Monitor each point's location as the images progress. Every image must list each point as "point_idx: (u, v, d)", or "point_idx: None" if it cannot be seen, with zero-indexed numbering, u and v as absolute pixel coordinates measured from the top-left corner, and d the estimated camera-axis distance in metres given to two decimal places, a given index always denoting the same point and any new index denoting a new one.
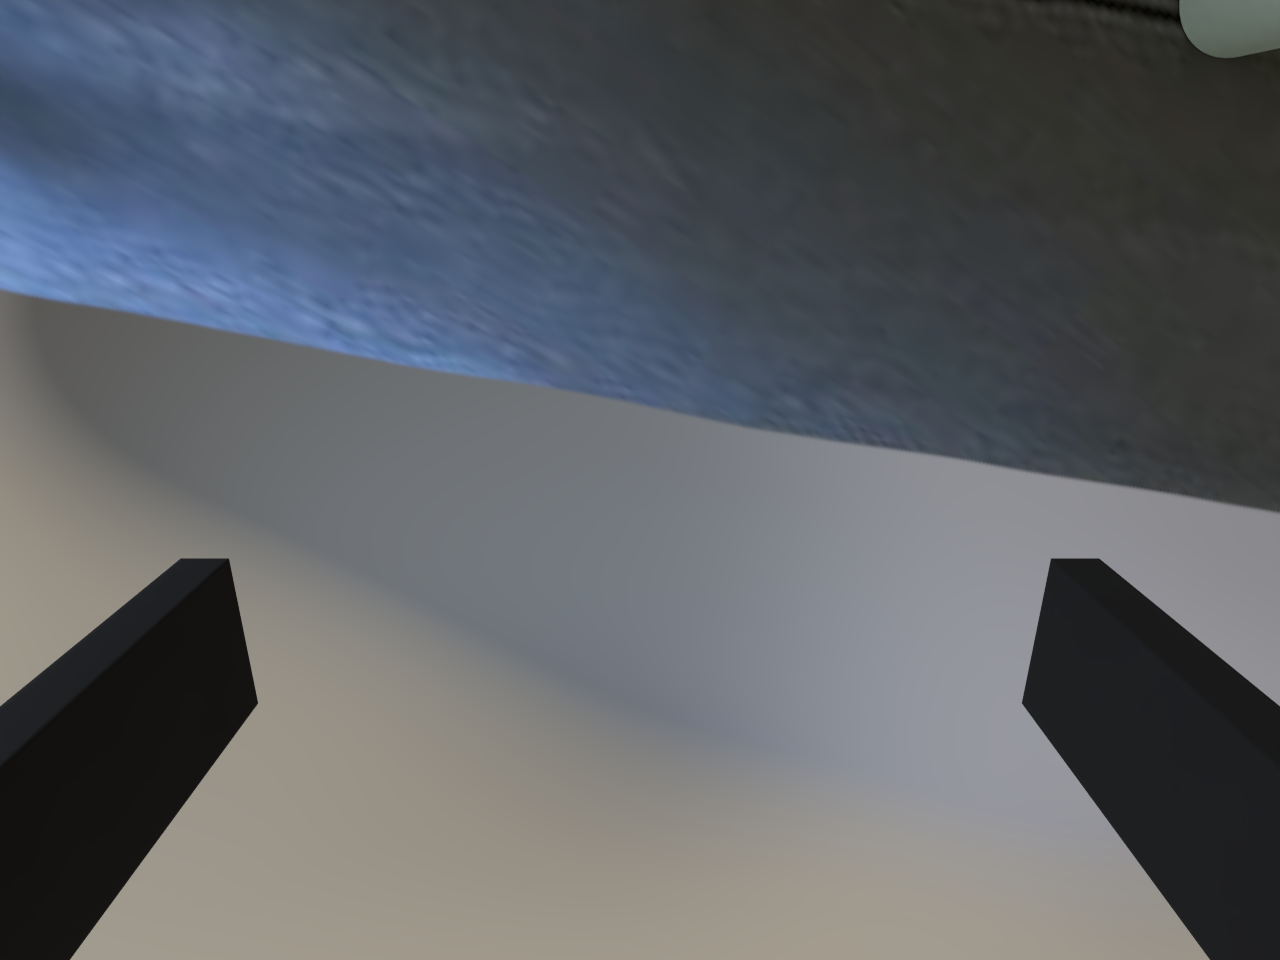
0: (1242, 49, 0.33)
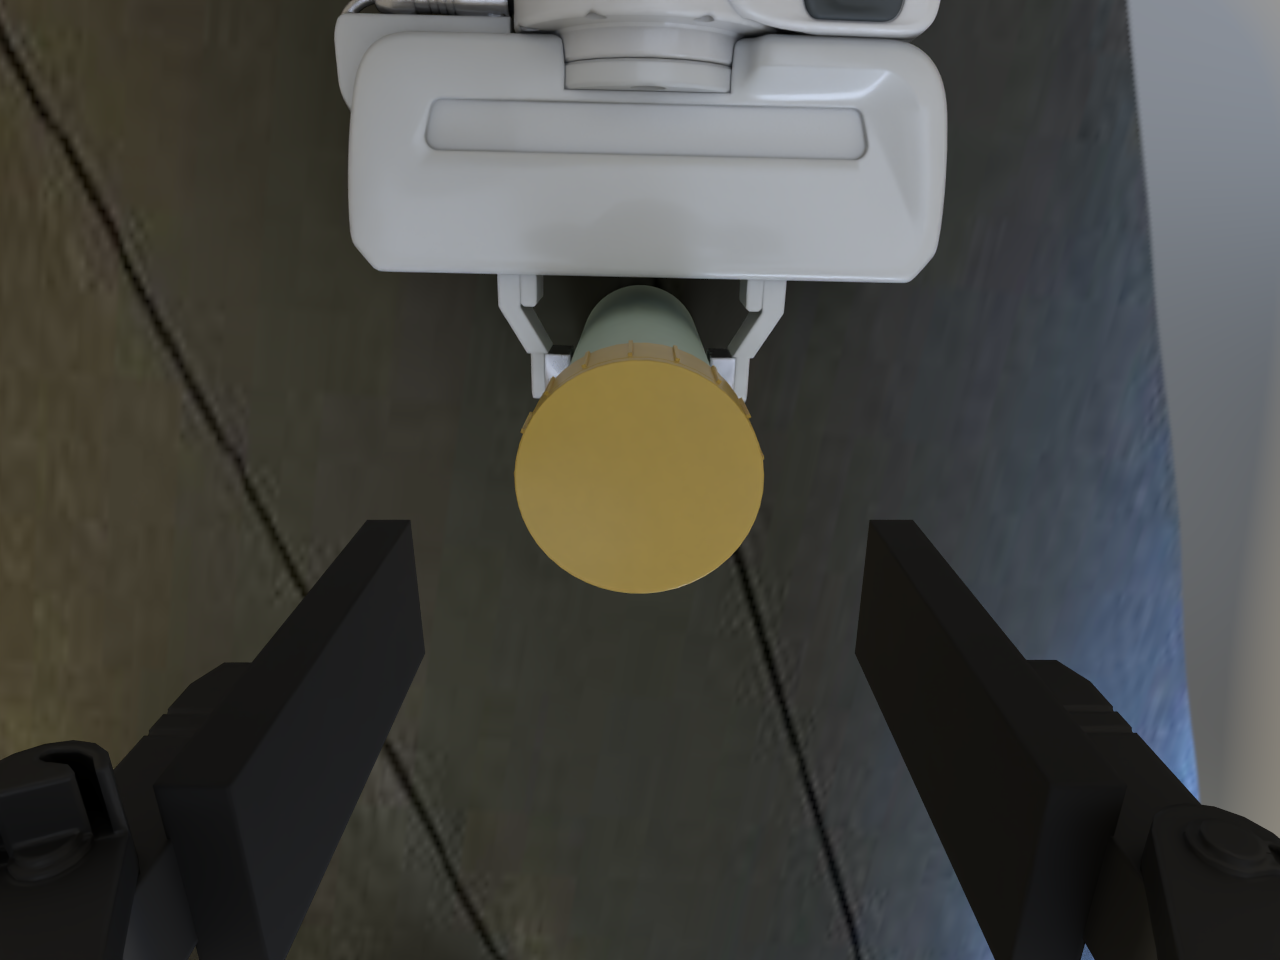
0: None
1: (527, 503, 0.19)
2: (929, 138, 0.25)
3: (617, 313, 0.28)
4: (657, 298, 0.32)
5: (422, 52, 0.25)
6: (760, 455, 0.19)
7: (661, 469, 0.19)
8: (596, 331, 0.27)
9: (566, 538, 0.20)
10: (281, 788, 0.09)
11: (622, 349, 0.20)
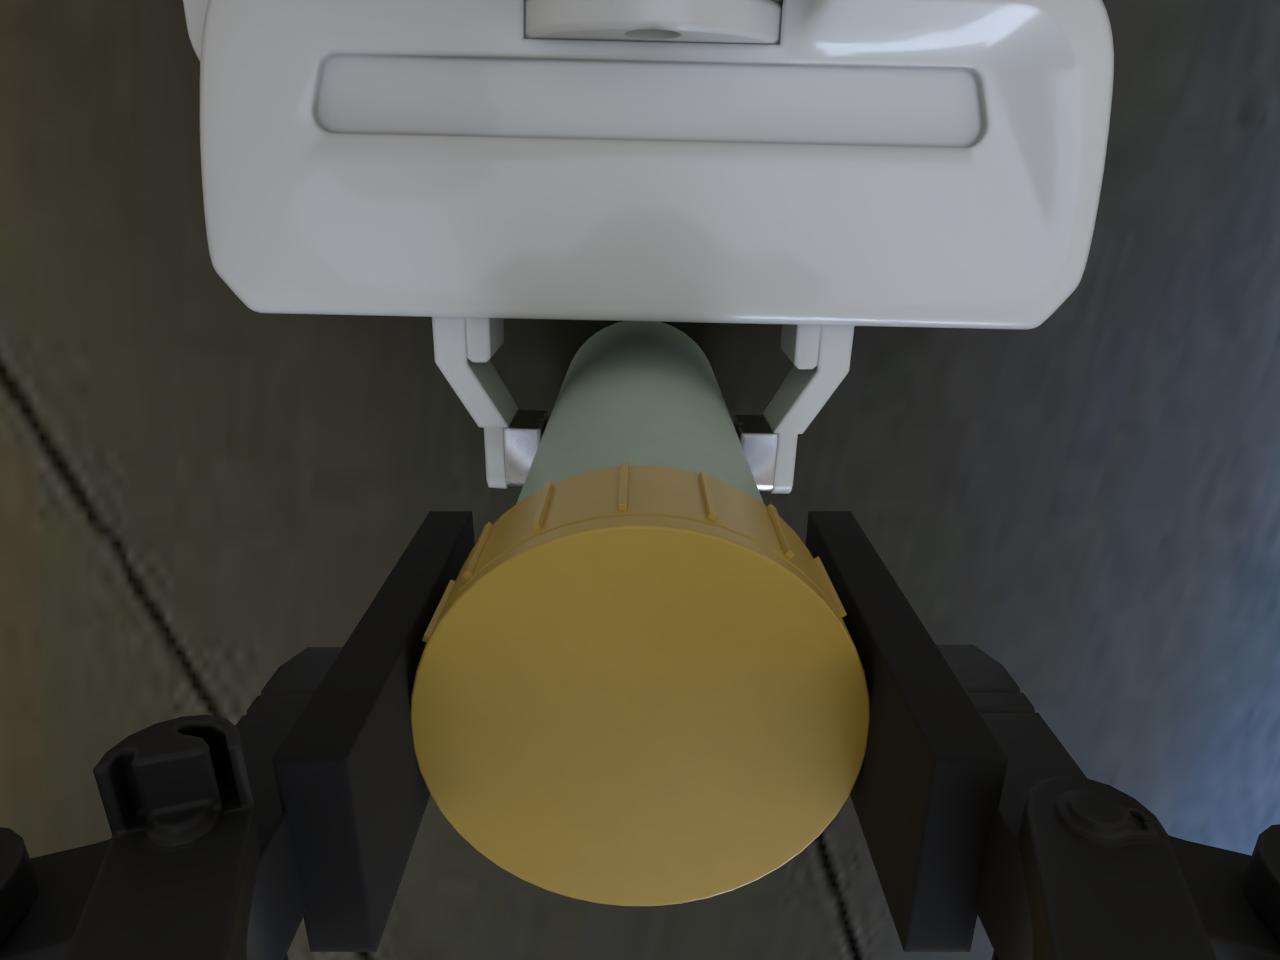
0: None
1: (436, 768, 0.11)
2: (1085, 114, 0.16)
3: (607, 372, 0.19)
4: (664, 342, 0.23)
5: None
6: (865, 689, 0.10)
7: (681, 713, 0.10)
8: (575, 404, 0.18)
9: (509, 823, 0.11)
10: (381, 765, 0.09)
11: (609, 486, 0.11)
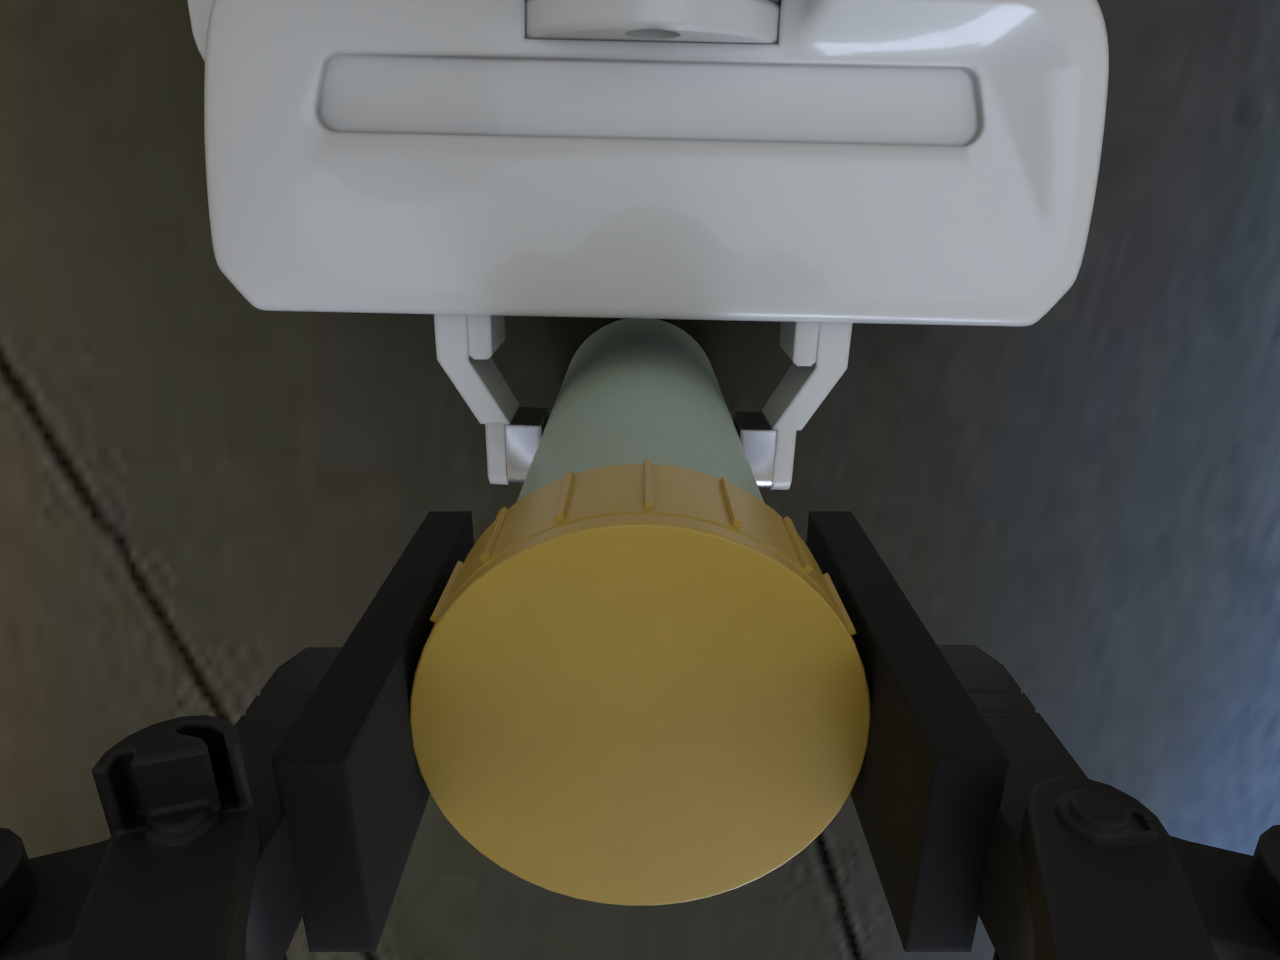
0: None
1: (772, 856, 0.11)
2: (1080, 113, 0.17)
3: (608, 369, 0.20)
4: (664, 340, 0.23)
5: None
6: (466, 592, 0.10)
7: (594, 717, 0.10)
8: (576, 401, 0.18)
9: (802, 784, 0.11)
10: (381, 764, 0.09)
11: None
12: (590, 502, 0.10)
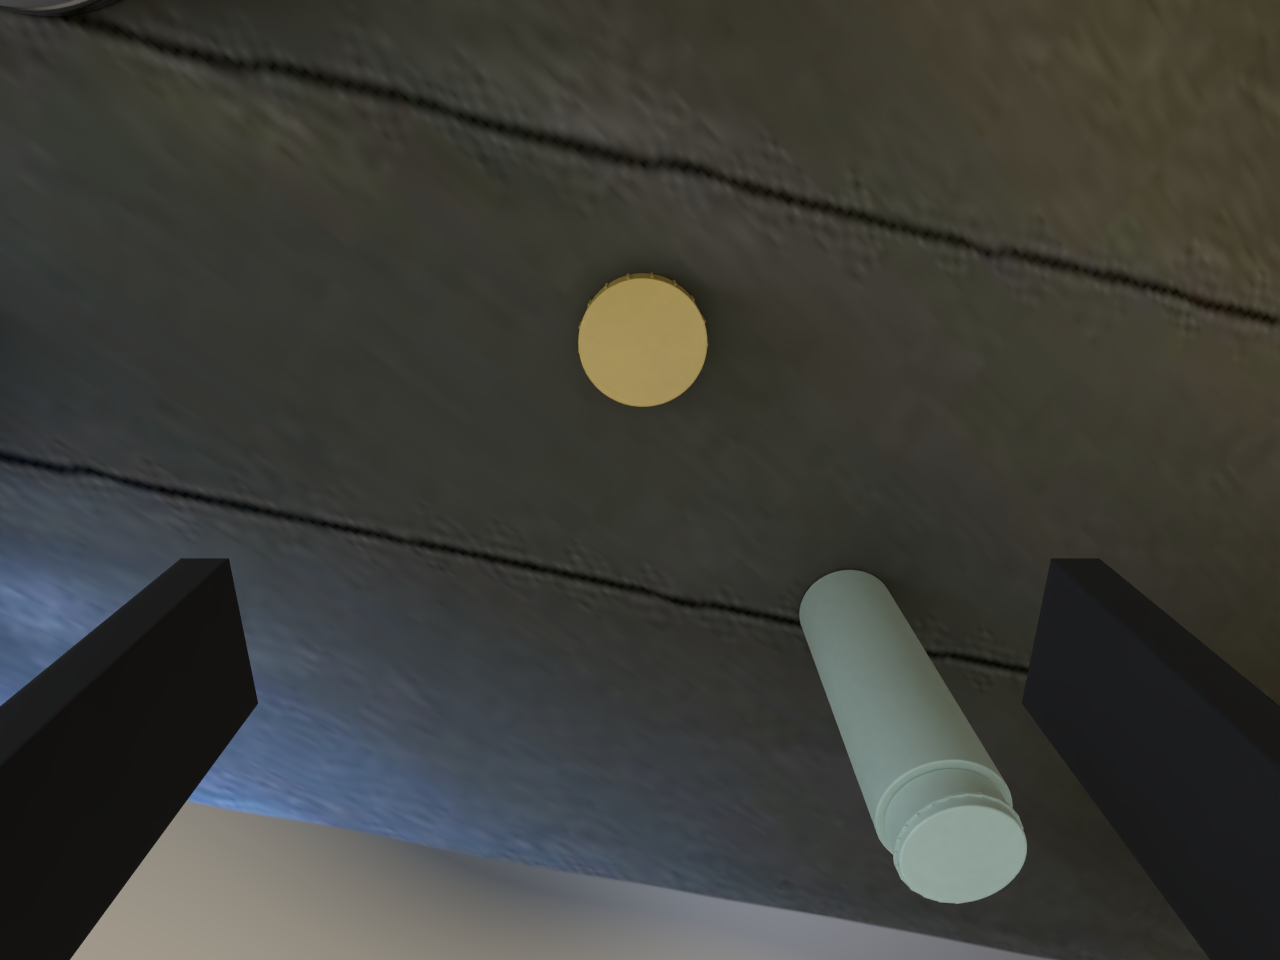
0: None
1: (660, 286, 0.36)
2: None
3: None
4: None
5: None
6: (627, 404, 0.38)
7: (644, 358, 0.37)
8: None
9: (633, 294, 0.36)
10: None
11: None
12: None
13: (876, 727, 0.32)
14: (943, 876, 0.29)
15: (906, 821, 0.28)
